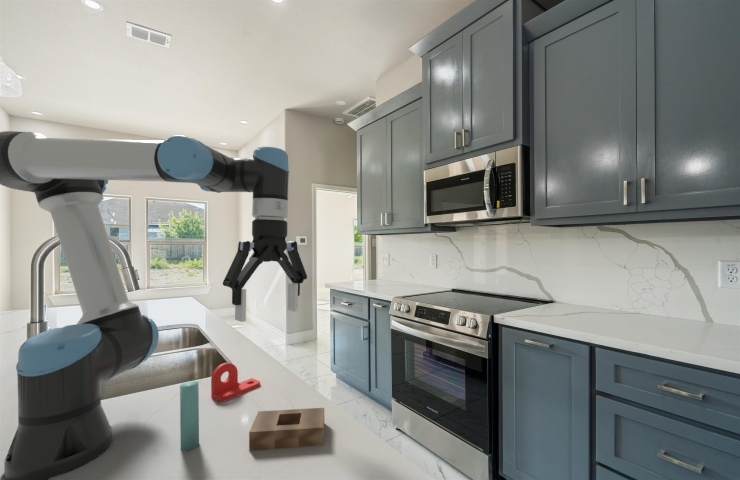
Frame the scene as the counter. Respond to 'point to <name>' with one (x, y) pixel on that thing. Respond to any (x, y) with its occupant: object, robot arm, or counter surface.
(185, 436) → the peg
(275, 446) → the hole block
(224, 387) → the bracket
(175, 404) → the counter surface
